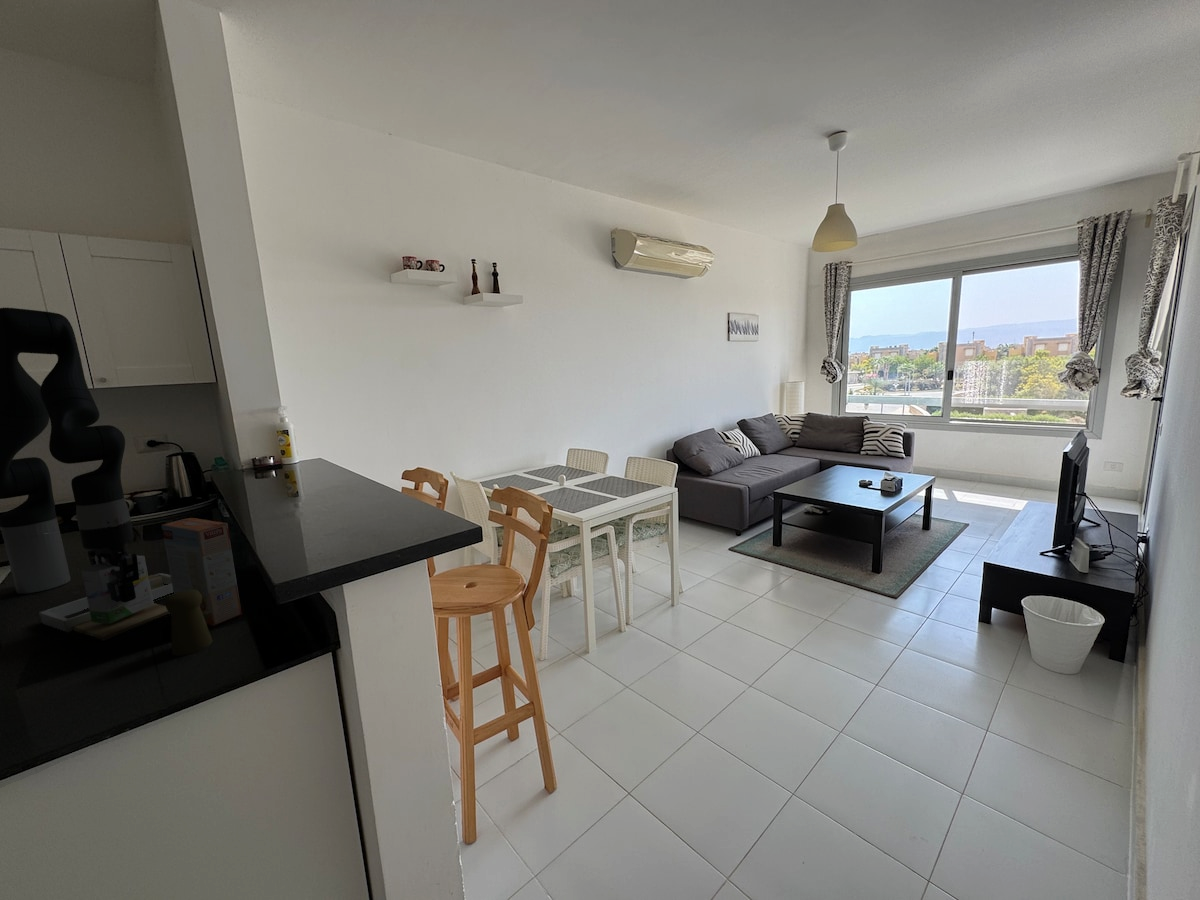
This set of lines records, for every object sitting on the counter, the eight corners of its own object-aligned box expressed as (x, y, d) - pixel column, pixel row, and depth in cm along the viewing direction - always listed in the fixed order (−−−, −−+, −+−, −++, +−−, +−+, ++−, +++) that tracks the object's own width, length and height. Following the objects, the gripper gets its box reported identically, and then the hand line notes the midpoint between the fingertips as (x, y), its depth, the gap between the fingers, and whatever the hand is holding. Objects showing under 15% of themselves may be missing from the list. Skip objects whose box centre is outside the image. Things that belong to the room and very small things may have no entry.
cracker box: (244, 614, 104) (228, 521, 101) (212, 628, 99) (195, 530, 96) (208, 603, 110) (192, 515, 107) (176, 615, 105) (158, 523, 101)
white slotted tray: (41, 623, 104) (38, 612, 103) (162, 582, 123) (160, 572, 123) (67, 632, 99) (65, 621, 99) (189, 588, 119) (187, 578, 119)
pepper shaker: (178, 659, 88) (167, 603, 86) (166, 650, 91) (155, 595, 89) (218, 643, 93) (208, 589, 91) (205, 635, 96) (195, 583, 95)
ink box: (137, 603, 108) (127, 553, 106) (155, 604, 106) (145, 554, 105) (90, 623, 99) (78, 569, 97) (109, 624, 98) (97, 570, 96)
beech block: (134, 597, 115) (131, 581, 115) (155, 590, 119) (152, 574, 118) (143, 599, 114) (140, 583, 113) (164, 592, 117) (161, 576, 117)
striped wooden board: (73, 630, 100) (72, 626, 100) (145, 604, 111) (144, 600, 111) (103, 641, 95) (102, 636, 95) (175, 612, 106) (174, 608, 106)
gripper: (62, 524, 99) (79, 601, 102) (98, 531, 93) (116, 612, 96) (110, 514, 106) (125, 586, 108) (146, 520, 100) (161, 595, 103)
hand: (120, 598), depth 102 cm, fingers closed on ink box, 5 cm apart
